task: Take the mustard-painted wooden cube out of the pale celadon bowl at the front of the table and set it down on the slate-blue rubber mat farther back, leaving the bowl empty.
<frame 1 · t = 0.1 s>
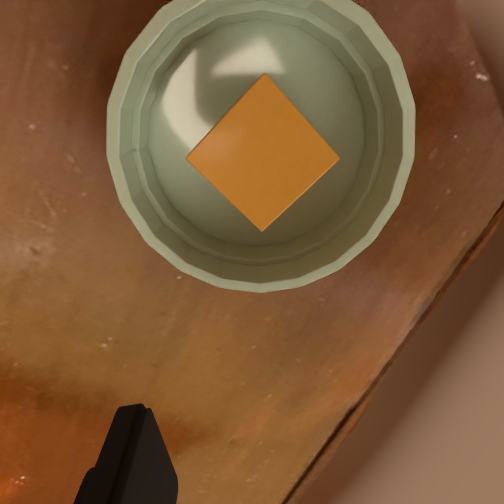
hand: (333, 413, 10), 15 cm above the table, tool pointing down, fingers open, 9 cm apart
celadon bowl: (257, 144, 22), on the table
cube: (257, 145, 21), resting on celadon bowl
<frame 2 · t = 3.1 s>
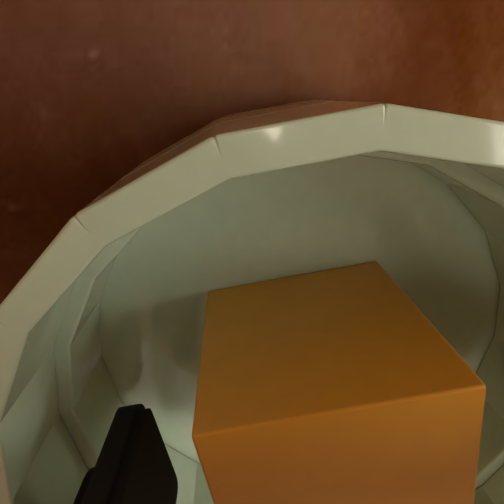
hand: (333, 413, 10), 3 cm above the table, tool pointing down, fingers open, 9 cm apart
celadon bowl: (299, 334, 12), on the table
cube: (301, 344, 12), resting on celadon bowl
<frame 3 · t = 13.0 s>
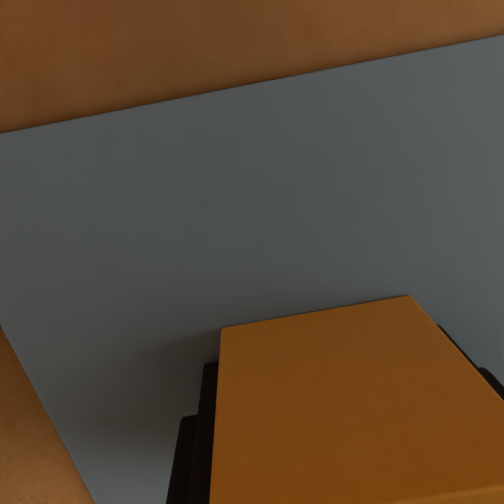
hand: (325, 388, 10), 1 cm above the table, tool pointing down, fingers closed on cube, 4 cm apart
cube: (324, 384, 11), resting on mat, touching gripper
mat: (320, 372, 11), on the table
when the fingers open (1 cm above the table, at t = 19.5 s): cube stays where it is, resting on mat.
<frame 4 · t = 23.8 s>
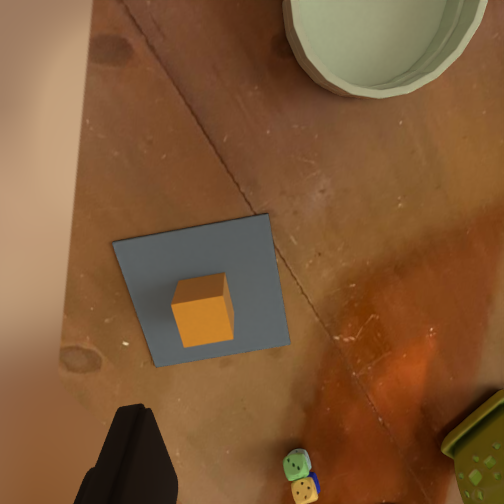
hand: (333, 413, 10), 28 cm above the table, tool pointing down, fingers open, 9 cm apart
celadon bowl: (368, 4, 30), on the table
cube: (206, 296, 40), resting on mat
dice: (298, 454, 50), on the table
flower pot: (492, 424, 50), on the table
mat: (207, 295, 40), on the table
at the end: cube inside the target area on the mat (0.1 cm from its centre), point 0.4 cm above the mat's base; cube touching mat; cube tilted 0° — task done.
